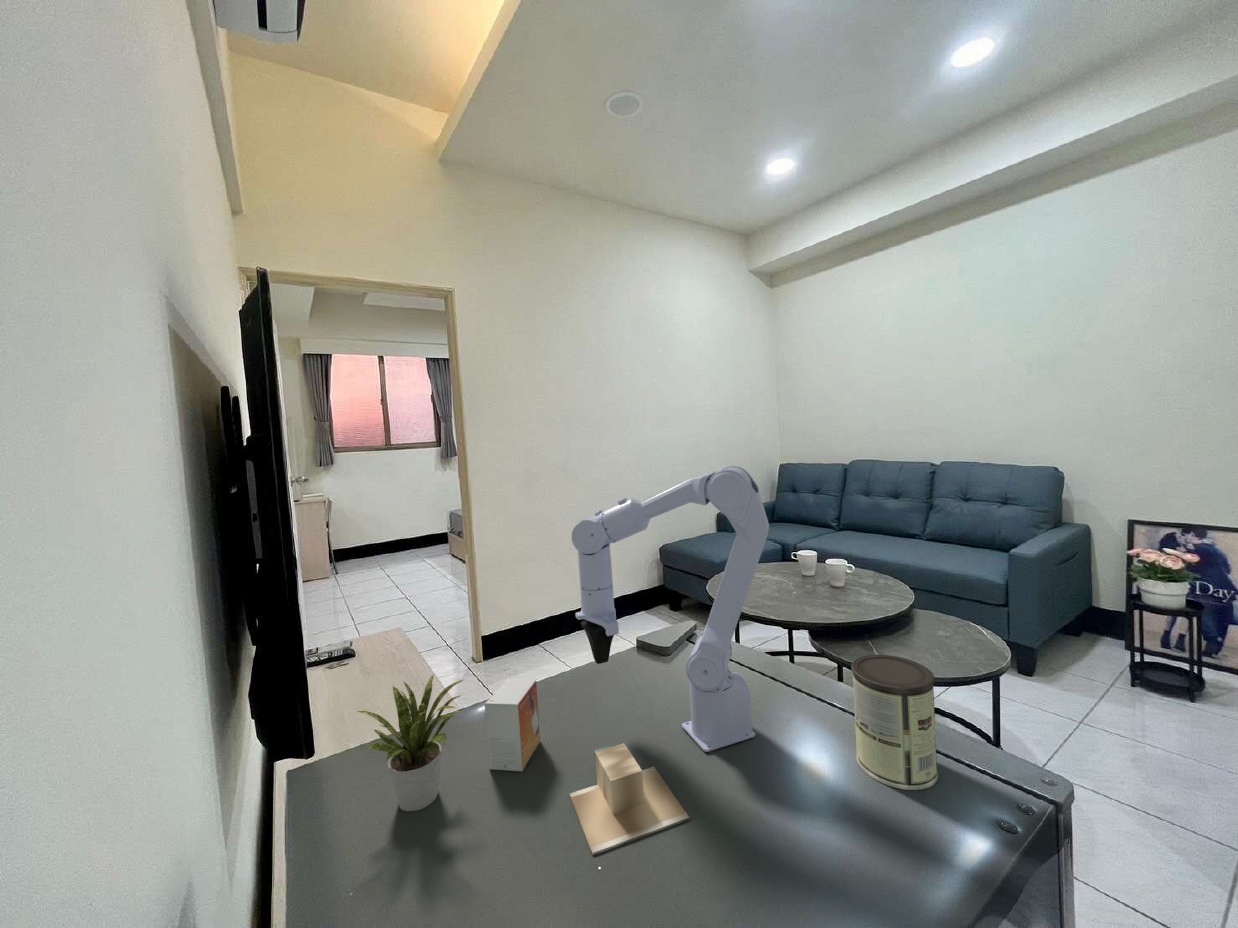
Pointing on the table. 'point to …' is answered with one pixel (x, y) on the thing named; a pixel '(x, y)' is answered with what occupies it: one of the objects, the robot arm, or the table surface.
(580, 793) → the tan flat rectangular panel
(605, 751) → the beech block
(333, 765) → the table surface
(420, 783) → the house plant
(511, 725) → the small box
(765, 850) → the table surface
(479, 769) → the table surface
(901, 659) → the coffee can
